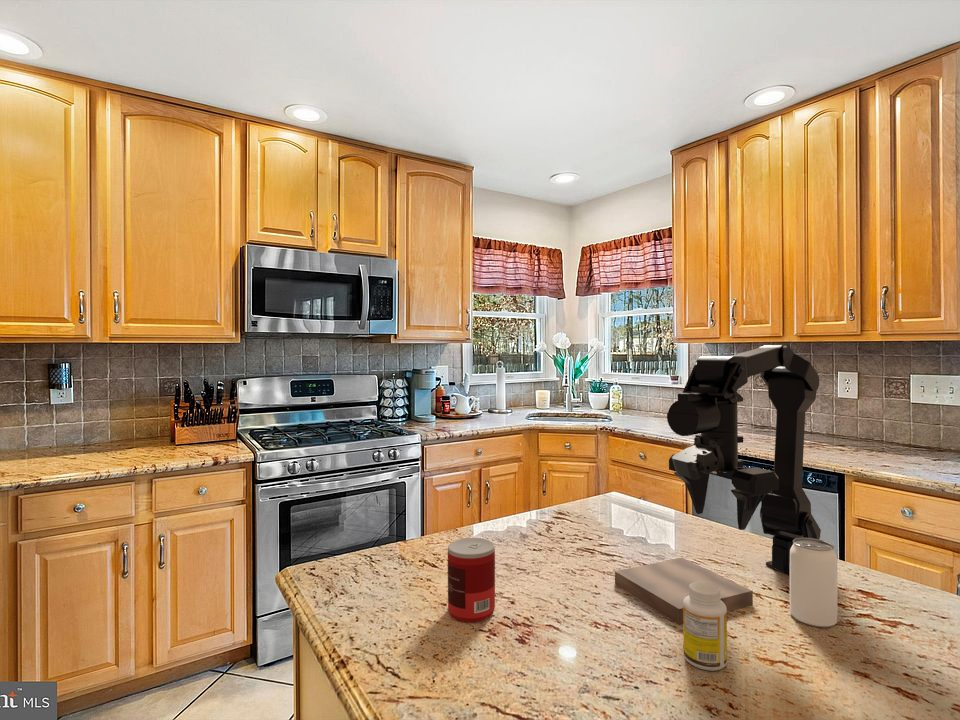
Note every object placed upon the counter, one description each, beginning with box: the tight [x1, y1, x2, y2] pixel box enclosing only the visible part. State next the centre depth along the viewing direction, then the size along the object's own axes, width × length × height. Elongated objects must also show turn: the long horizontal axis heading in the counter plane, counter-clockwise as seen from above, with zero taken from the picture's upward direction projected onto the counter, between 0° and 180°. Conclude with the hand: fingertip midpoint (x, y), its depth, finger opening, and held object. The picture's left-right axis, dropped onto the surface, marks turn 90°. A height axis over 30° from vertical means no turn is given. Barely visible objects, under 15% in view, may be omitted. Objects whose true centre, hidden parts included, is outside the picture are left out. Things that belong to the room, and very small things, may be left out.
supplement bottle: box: [682, 582, 728, 672], centre depth 74 cm, size 6×6×10 cm
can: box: [789, 538, 839, 629], centre depth 86 cm, size 6×6×12 cm
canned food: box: [447, 537, 496, 624], centre depth 89 cm, size 8×8×11 cm
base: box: [614, 557, 754, 626], centre depth 95 cm, size 16×16×2 cm
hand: (719, 521), depth 92 cm, fingers open, 9 cm apart
